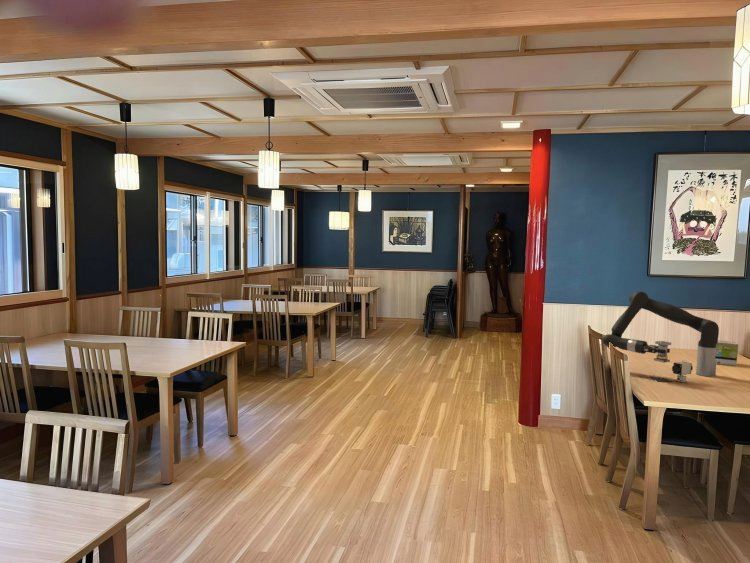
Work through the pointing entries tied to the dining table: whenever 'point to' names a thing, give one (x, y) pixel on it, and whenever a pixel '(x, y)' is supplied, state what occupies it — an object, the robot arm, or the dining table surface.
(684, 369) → the pneumatic valve
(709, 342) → the robot arm
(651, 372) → the dining table surface
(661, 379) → the pad
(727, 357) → the tea box
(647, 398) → the dining table surface
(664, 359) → the grey column pedestal
